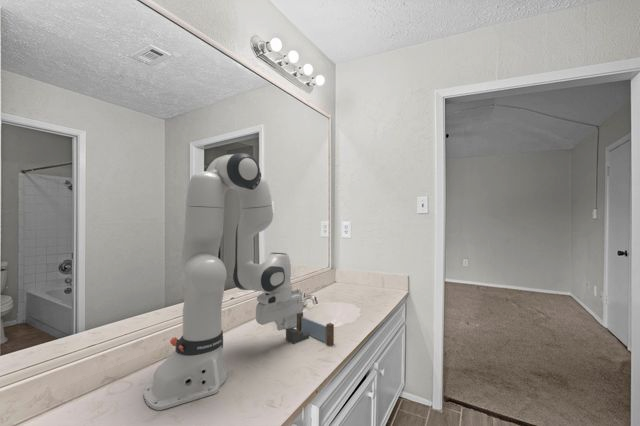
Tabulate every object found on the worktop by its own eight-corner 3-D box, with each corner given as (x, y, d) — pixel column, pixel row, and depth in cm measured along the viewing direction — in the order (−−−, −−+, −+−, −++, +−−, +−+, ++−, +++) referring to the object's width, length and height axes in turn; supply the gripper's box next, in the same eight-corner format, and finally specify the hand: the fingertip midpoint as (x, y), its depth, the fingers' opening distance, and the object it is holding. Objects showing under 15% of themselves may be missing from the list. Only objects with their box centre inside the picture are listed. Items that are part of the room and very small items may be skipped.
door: (325, 341, 116) (325, 326, 116) (301, 331, 128) (301, 317, 128) (328, 340, 118) (328, 325, 118) (304, 329, 129) (304, 316, 129)
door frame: (330, 346, 114) (330, 325, 114) (296, 330, 129) (296, 312, 129) (333, 344, 115) (333, 324, 115) (300, 329, 130) (300, 311, 130)
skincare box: (297, 326, 134) (297, 293, 134) (285, 329, 130) (285, 295, 130) (289, 321, 141) (289, 289, 141) (277, 323, 137) (277, 291, 137)
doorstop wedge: (293, 344, 116) (293, 332, 116) (285, 340, 120) (285, 328, 120) (309, 338, 121) (308, 327, 121) (301, 335, 125) (301, 323, 125)
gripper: (296, 287, 124) (297, 319, 124) (253, 297, 110) (254, 334, 111) (306, 289, 119) (307, 323, 119) (261, 301, 106) (263, 339, 106)
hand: (281, 329), depth 115 cm, fingers closed
